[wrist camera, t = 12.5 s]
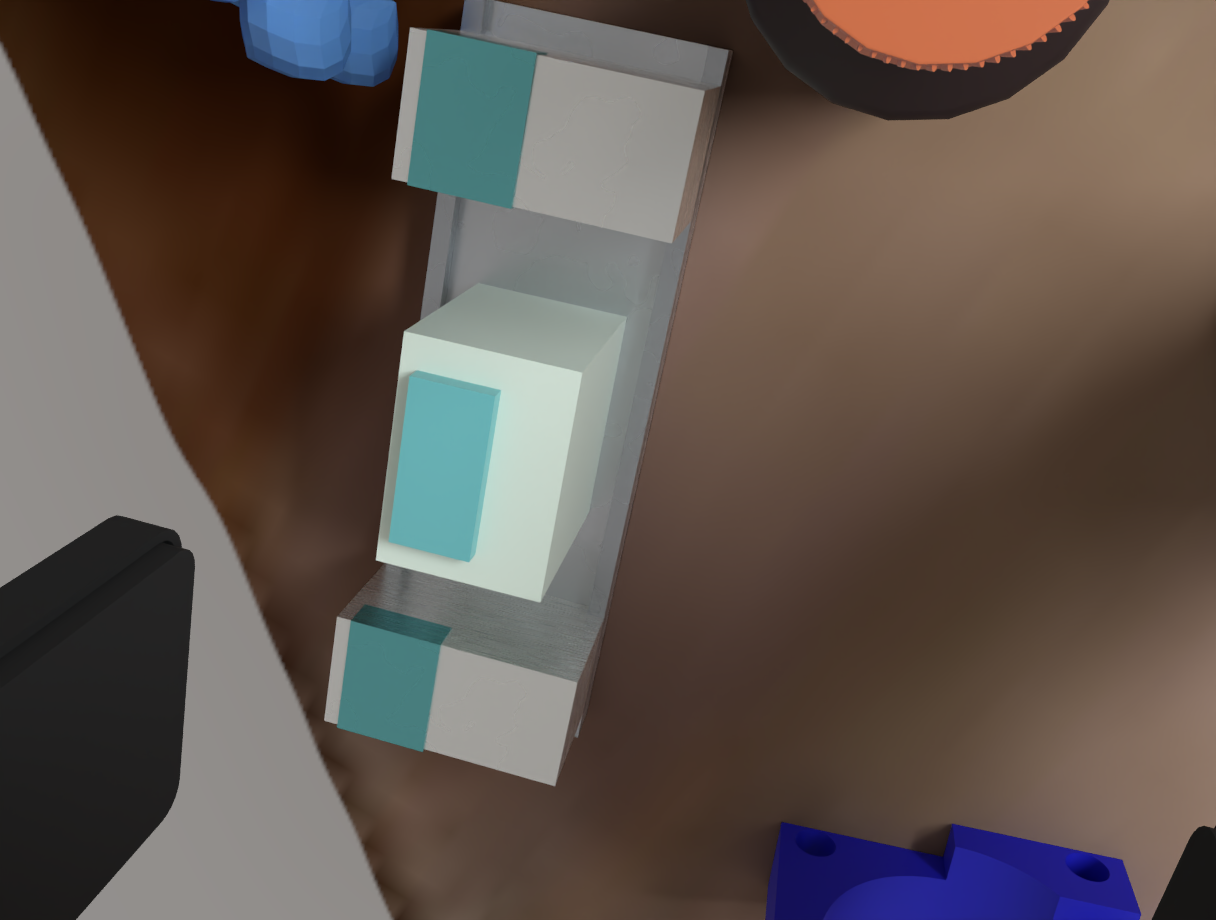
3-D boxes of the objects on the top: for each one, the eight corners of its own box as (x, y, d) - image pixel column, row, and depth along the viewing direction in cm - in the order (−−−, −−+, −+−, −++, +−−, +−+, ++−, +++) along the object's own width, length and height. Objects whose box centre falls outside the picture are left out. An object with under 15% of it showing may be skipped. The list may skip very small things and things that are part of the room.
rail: (733, 50, 35) (713, 50, 29) (586, 714, 44) (549, 812, 38) (480, -3, 36) (413, -14, 30) (385, 658, 44) (320, 747, 39)
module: (626, 316, 37) (577, 378, 30) (588, 512, 40) (535, 611, 33) (478, 283, 38) (396, 336, 31) (450, 478, 40) (367, 568, 33)
